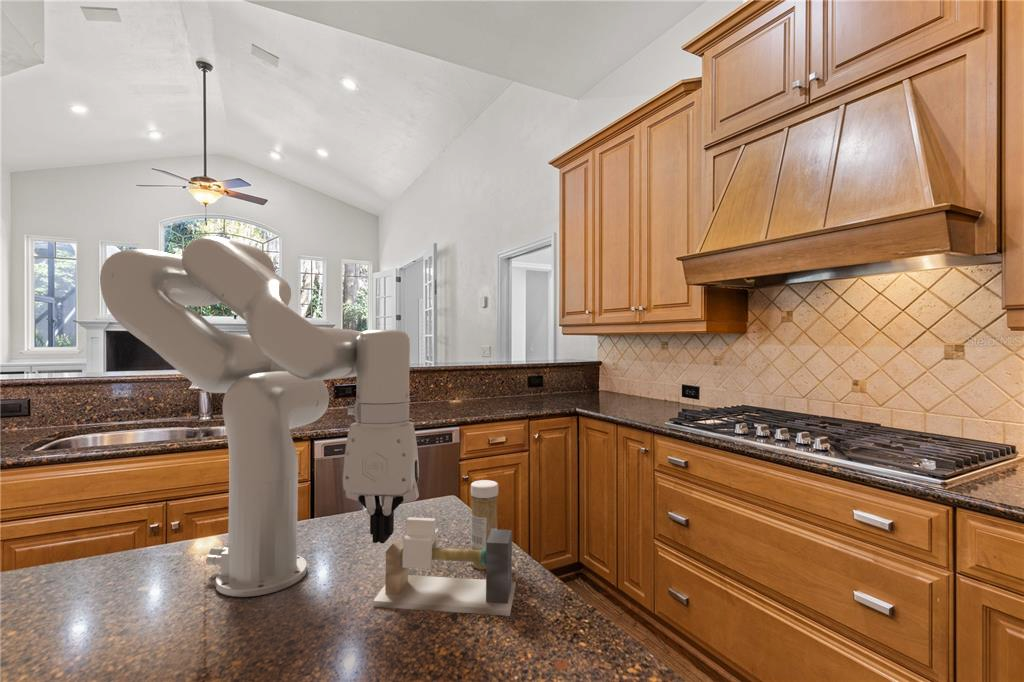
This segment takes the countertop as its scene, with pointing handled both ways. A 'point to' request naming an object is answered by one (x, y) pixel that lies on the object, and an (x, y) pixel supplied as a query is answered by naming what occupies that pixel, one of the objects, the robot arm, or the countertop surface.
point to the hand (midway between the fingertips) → (381, 539)
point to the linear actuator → (453, 581)
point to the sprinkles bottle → (483, 514)
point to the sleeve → (419, 543)
